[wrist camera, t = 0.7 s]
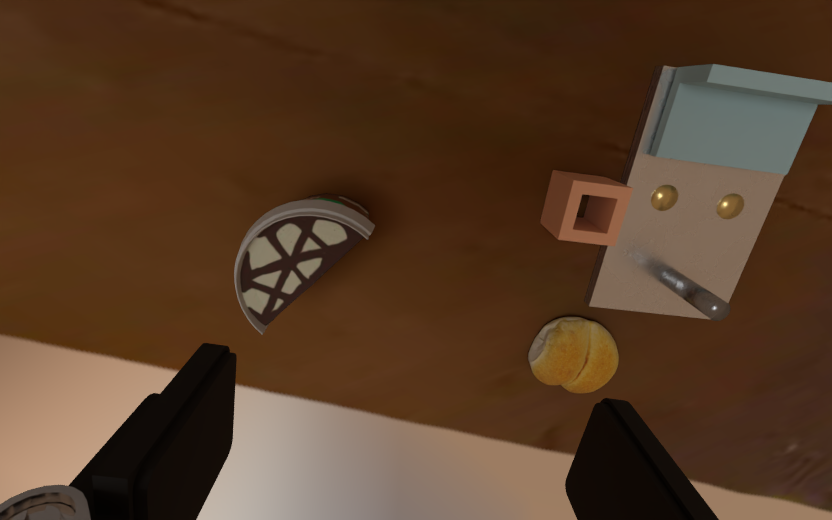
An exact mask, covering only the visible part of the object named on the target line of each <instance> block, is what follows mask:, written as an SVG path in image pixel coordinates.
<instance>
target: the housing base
mask: <svg viewBox="0 0 832 520" xmlns="http://www.w3.org/2000/svg"><path fill="white" fill-rule="evenodd" d="M676 71H677V68H675V67H669V66H656V67H655V70H654V74H653V77H652V80H651V84H650V87H649V90H648V93H647V97H646V100H645V103H644V107H643V110H642V113H641V116H640V120H639V123H638V126H637V129H636V133H635V136H634V139H633V143H632V146H631V149H630V152H629V156H628V159H627V162H626V166H625V169H624V172H623V175H622V179H621V182H620V183H622V184H624V185H627V186H629V187H632V188H633V191H632V194H631V197H630V201H629V204H628V207H627V210H626V213H625V216H624V219H623V223H622V226H621V229H620V232H619V235H618V238H617V242H616V245H615V246H607V245H601V248H600V251H599V254H598V257H597V261H596V264H595V267H594V270H593V274H592V277H591V280H590V284H589V287H588V290H587V293H586V297H585V300H584V301H585V302H586V303H587V304H588V306H592V307H601V308H610V309H620V310H629V311H638V312H647V313H657V314H666V315H675V316H684V317H694V318H703V319H711V320H714V321H719V320H722V319H724V318H725V317H726V316H727V315H728V314H729V312H730V305H729V304H728V303H729V300H730V298H731V296H732V294H733V291H734V289H735V287H736V284H737V282H738V280H739V278H740V275H741V273H742V271H743V268H744V266H745V264H746V262H747V259H748V257H749V255H750V253H751V250H752V248H753V246H754V243H755V241H756V239H757V237H758V234H759V232H760V230H761V228H762V225H763V223H764V221H765V218H766V216H767V214H768V212H769V209H770V207H771V205H772V202H773V200H774V198H775V196H776V193H777V191H778V189H779V187H780V184H781V182H782V180H783V177H784V174H777V173H770V172H763V171H756V170H748V169H741V168H734V167H727V166H720V165H712V164H705V163H698V162H691V161H684V160H676V159H669V158H662V157H655V156H651V155H650V152H651V149H652V146H653V143H654V139H655V136H656V133H657V130H658V127H659V124H660V121H661V118H662V115H663V111H664V108H665V105H666V102H667V99H668V96H669V93H670V90H671V87H672V84H673V80H674V77H675V74H676Z"/></svg>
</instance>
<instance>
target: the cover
mask: <svg viewBox="0 0 832 520" xmlns="http://www.w3.org/2000/svg"><path fill="white" fill-rule="evenodd" d="M818 104H830V105H832V83H830V82H824V81H818V80H811V79H805V78H799V77H793V76H786V75H780V74H774V73H767V72H761V71H755V70H748V69H742V68H736V67H729V66H723V65H717V64H707V65H696V66H686V67H678V68H677V71H676V74H675V77H674V80H673V84H672V87H671V90H670V93H669V96H668V99H667V102H666V105H665V108H664V111H663V115H662V118H661V121H660V124H659V127H658V130H657V133H656V136H655V139H654V143H653V146H652V149H651V152H650V155H651V156H655V157H662V158H669V159H676V160H684V161H691V162H698V163H705V164H712V165H720V166H727V167H734V168H741V169H748V170H756V171H763V172H770V173H777V174H784V175H787V174H788V172H789V169H790V167H791V165H792V162H793V160H794V158H795V156H796V153H797V151H798V149H799V147H800V144H801V142H802V140H803V138H804V135H805V133H806V131H807V129H808V126H809V124H810V122H811V119H812V117H813V115H814V113H815V110H816V108H817V106H818Z"/></svg>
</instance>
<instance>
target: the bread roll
mask: <svg viewBox="0 0 832 520" xmlns="http://www.w3.org/2000/svg"><path fill="white" fill-rule="evenodd" d="M618 357H619V356H618V351H617V347H616V344H615V341H614V339H613V337H612V336H611V334H610V333H609V332H608V331H607V330H606V329H605V328H604V327H603V326H602V325H600V324H599V323H597V322H595V321H590V320H586V319H584V318H580V317H563V318H558V319H555V320H553V321H551V322H550V323H548V324H546V325H545V326H544V327H543V328H542V330H541V331H540V333H539V334H538V335H537V336H536V338H535V339H534V341H533V343H532V346H531V348H530V351H529V354H528V360H529V362H530V365H531V369H532V372H533V374H534V375H535V377H536V378H537V379H539V380H540V381H541V382H543V383H545V384H547V385H562V386H563V387H564V388H565V389H567V390H568V391H570V392H573V393H589V392H593V391H595V390H597V389H599V388H600V387H602V386H603V385H604V384H606V383H607V382H608V381H609V380H610V379H611V377H612V376H613V375H614V373H615V371H616V369H617V367H618Z"/></svg>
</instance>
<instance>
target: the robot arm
mask: <svg viewBox="0 0 832 520" xmlns="http://www.w3.org/2000/svg"><path fill="white" fill-rule="evenodd" d="M235 378H236V354H235V353H230V350H229V347H228V346H223V345H216V344H209V343H203V344H202V345H201V346H200V347H199V349H198V350H197V351H196V352H195V353H194V354H193V356H192V357H191V358H190V359H189V360H188V362H187V363H186V364H185V365H184V366H183V367H182V369H181V370H180V371H179V372H178V373H177V375H176V376H175V377H174V378H173V379H172V381H171V382H170V383H169V384H168V385H167V386H166V388H165V389H164V390H163V391H162V392H161V394H156V393H153V394H150V395H149V396H148V397H147V398H145V399H144V401H143V402H142V403H141V404H140V405H139V406H138V407H137V409H136V410H135V411H134V412H133V413H132V414H131V415H130V416H129V418H128V419H127V420H126V421H125V422H124V423H123V424H122V426H121V427H120V428H119V429H118V430H117V431H116V432H115V433H114V435H113V436H112V437H111V438H110V439H109V440H108V441H107V443H106V444H105V445H104V446H103V447H102V448H101V449H100V451H99V452H98V453H97V454H96V455H95V456H94V457H93V458H92V460H91V461H90V462H89V463H88V464H87V465H86V466H85V468H84V469H83V470H82V471H81V472H80V473H79V474H78V475H77V477H76V478H75V479H74V480H73V481H72V483H70V485H69V486H65V485H51V486H43V487H39V488H35V489H31V490H28V491H26V492H23V493H21V494H19V495H16V496H14V497H12V498H10V499H8V500H7V501H5V502H4V503H2V504H0V520H196V519H197V516H198V515H199V513H200V511H201V509H202V506H203V505H204V502H205V501H206V499H207V497H208V495H209V493H210V491H211V489H212V487H213V485H214V483H215V481H216V479H217V477H218V475H219V473H220V471H221V469H222V467H223V465H224V463H225V461H226V459H227V457H228V454H229V452H230V449H231V445H232V439H233V420H234V398H235ZM565 486H566V493H567V496H568V498H569V501H570V503H571V505H572V508H573V510H574V513H575V515H576V517H577V519H578V520H719V519H718V518H717V517H716V515H715V514H714V513H713V511H712V510H711V509H710V507H709V506H708V505H707V504H706V502H705V501H704V500H703V498H702V497H701V496H700V494H699V493H698V492H697V490H696V489H695V488H694V487H693V485H692V484H691V483H690V481H689V480H688V479H687V477H686V476H685V475H684V473H683V472H682V471H681V469H680V468H679V467H678V466H677V464H676V463H675V462H674V460H673V459H672V458H671V456H670V455H669V454H668V452H667V451H666V450H665V449H664V447H663V446H662V445H661V443H660V442H659V441H658V439H657V438H656V437H655V435H654V434H653V433H652V431H651V430H650V429H649V428H648V426H647V425H646V424H645V422H644V421H643V420H642V418H641V417H640V416H639V414H638V413H637V412H636V411H635V409H634V408H633V407H632V405H631V404H630V403H629V402H627V401H623V400H616V399H609V398H605V399H603V400H602V401H601V402H600V403H597V404H595V406H594V408H593V411H592V413H591V416H590V418H589V421H588V423H587V426H586V429H585V431H584V434H583V436H582V439H581V442H580V444H579V447H578V449H577V452H576V455H575V457H574V460H573V462H572V465H571V468H570V470H569V473H568V476H567V478H566V484H565Z"/></svg>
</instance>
